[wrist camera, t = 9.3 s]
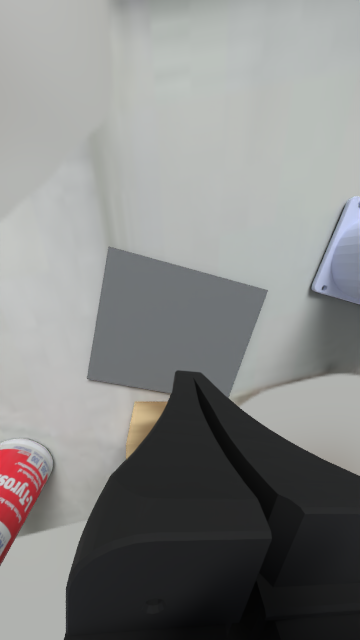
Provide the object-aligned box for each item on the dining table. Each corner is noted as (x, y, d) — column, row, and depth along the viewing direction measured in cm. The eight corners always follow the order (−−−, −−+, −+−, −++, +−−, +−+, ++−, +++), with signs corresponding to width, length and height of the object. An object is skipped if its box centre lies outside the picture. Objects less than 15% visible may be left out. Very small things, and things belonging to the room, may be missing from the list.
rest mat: (265, 289, 18) (267, 290, 17) (225, 400, 20) (226, 402, 20) (109, 246, 16) (108, 246, 15) (88, 376, 18) (86, 378, 18)
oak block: (183, 401, 20) (190, 443, 15) (180, 439, 21) (185, 489, 17) (134, 401, 20) (126, 444, 15) (134, 440, 21) (126, 492, 16)
